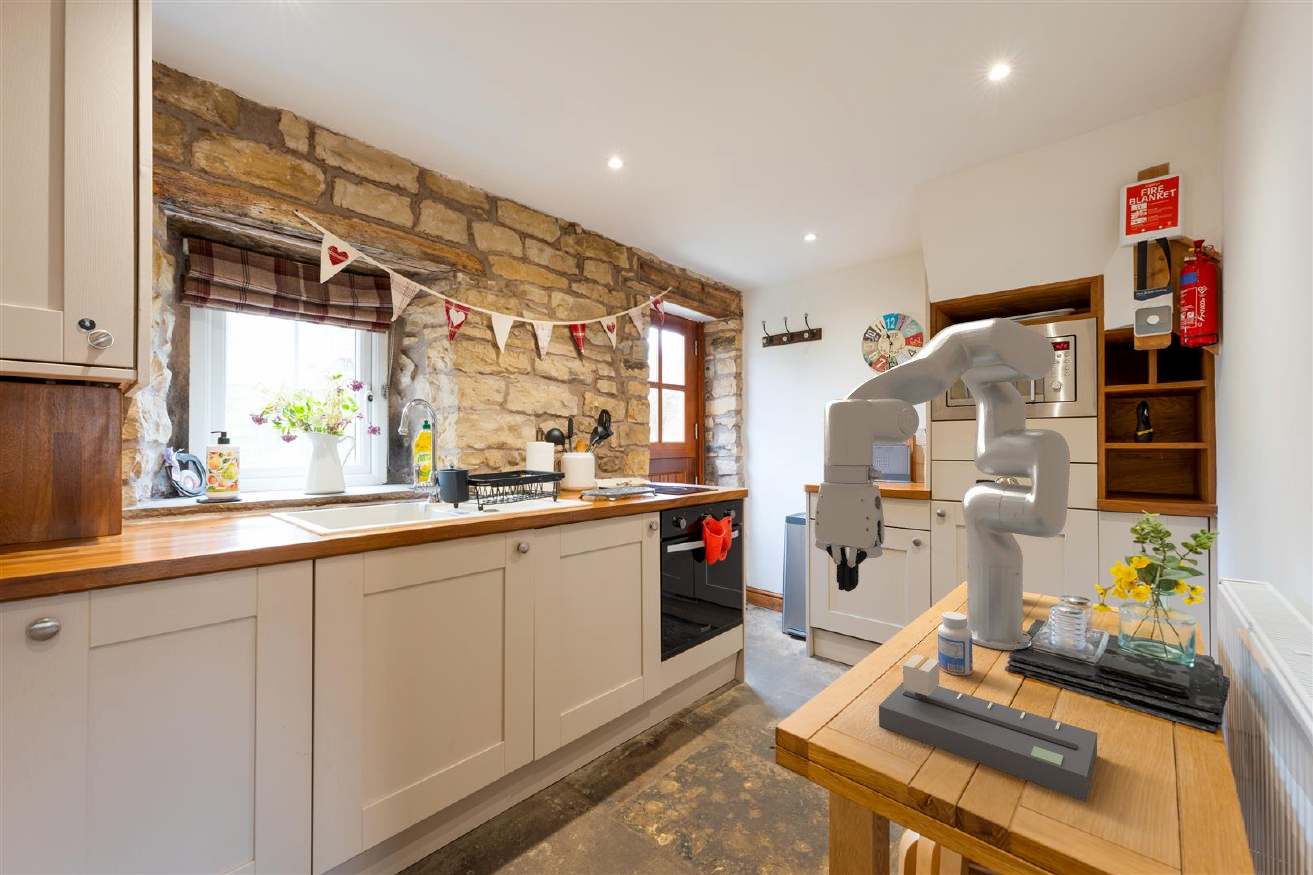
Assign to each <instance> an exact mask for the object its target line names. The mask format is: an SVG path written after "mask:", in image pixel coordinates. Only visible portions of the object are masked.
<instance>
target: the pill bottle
mask: <svg viewBox="0 0 1313 875" xmlns="http://www.w3.org/2000/svg"><path fill="white" fill-rule="evenodd" d="M941 622H942V624H940V625H938V628H937V656H938V658H937V660H938V661H939V669H940V670H942V671H943V672H945V673H947V674H950V675H954V676H968V675H971V674H972V673H973V670H974V669H973V664H974V663H973V660H974V659H973V643H972V632H971V630H970V629H969V628H967V627H966V626H967V622H968V615H966V614H964V613H961V612H957V611H945V612H942V613H941Z"/></svg>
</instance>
